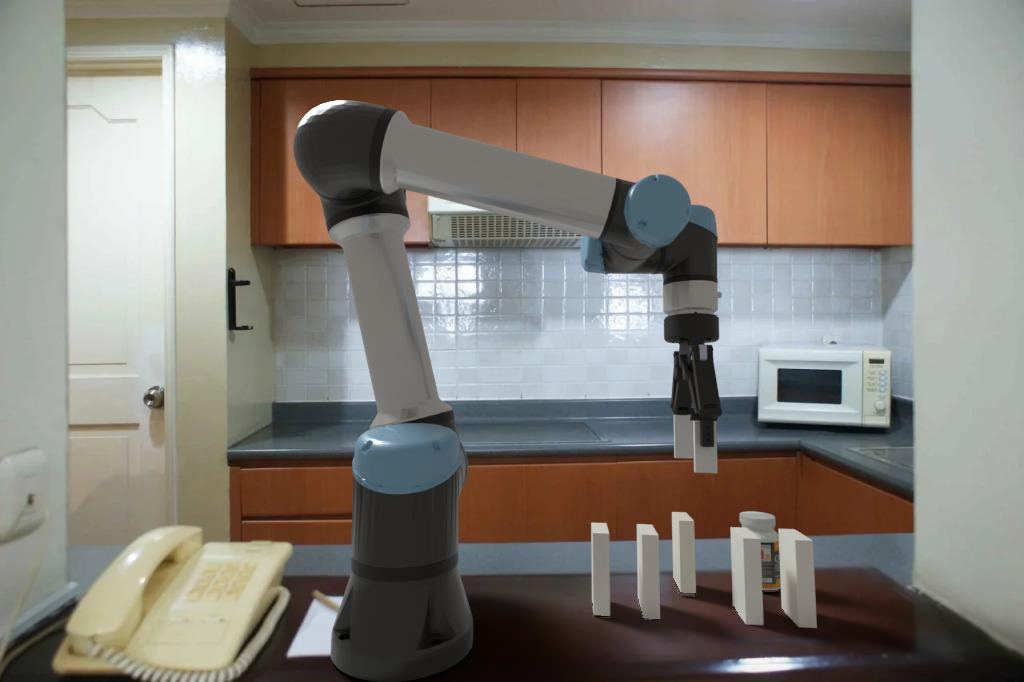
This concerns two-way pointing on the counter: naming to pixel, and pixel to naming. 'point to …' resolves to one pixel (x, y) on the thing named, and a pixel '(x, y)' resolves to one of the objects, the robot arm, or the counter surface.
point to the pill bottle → (765, 546)
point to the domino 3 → (683, 552)
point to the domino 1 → (600, 569)
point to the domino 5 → (797, 577)
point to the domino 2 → (648, 571)
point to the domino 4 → (747, 575)
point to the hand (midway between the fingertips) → (693, 464)
